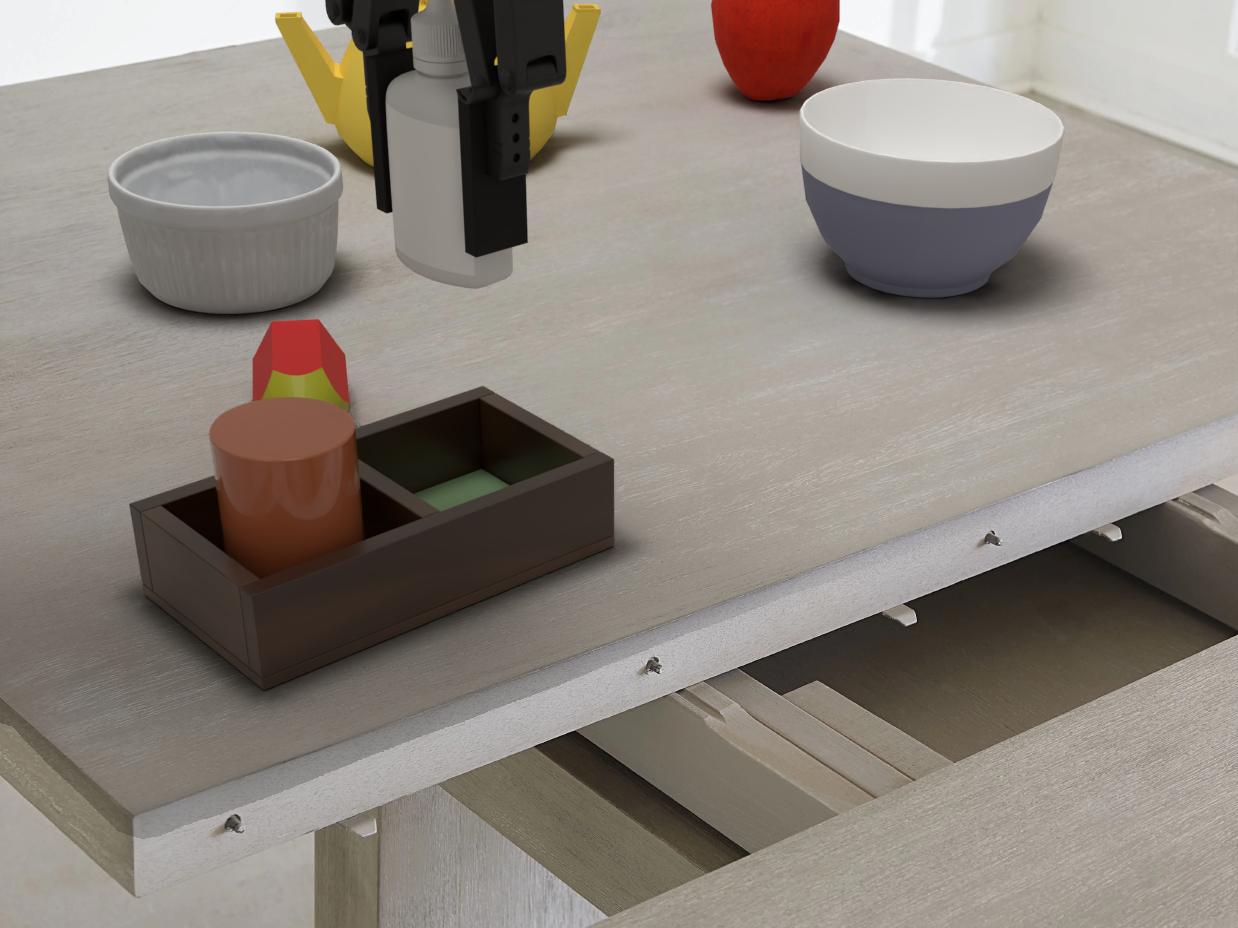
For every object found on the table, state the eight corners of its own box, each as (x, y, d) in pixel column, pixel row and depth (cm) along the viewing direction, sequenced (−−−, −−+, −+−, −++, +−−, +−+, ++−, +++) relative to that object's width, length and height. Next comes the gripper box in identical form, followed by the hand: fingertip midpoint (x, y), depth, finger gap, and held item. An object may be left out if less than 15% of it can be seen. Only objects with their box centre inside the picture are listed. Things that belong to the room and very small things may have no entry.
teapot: (432, 96, 145) (422, -71, 138) (613, 141, 138) (613, -32, 131) (278, 155, 133) (260, -25, 126) (469, 207, 126) (460, 21, 119)
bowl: (872, 337, 111) (885, 176, 106) (746, 243, 123) (752, 93, 117) (1095, 297, 118) (1118, 142, 112) (955, 211, 129) (971, 67, 123)
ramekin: (388, 259, 118) (381, 147, 114) (283, 340, 108) (270, 220, 104) (198, 227, 121) (184, 118, 117) (78, 303, 111) (58, 186, 107)
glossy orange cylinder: (204, 585, 85) (181, 422, 80) (320, 543, 88) (304, 383, 84) (278, 642, 81) (258, 474, 77) (395, 595, 85) (383, 432, 80)
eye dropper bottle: (419, 299, 80) (400, 3, 73) (390, 250, 84) (369, -34, 77) (520, 287, 82) (511, -4, 75) (486, 240, 86) (474, -39, 79)
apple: (802, 125, 143) (812, -46, 136) (684, 103, 146) (688, -66, 139) (854, 90, 150) (866, -73, 143) (741, 70, 153) (747, -91, 146)
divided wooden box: (143, 594, 85) (128, 503, 82) (486, 468, 96) (483, 384, 93) (264, 690, 79) (252, 596, 77) (614, 545, 90) (614, 458, 88)
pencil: (257, 502, 92) (248, 425, 90) (256, 395, 102) (248, 322, 99) (358, 496, 93) (351, 419, 91) (348, 390, 103) (341, 317, 100)
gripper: (669, -377, 65) (661, 270, 79) (358, -427, 76) (397, 150, 89) (492, -368, 61) (516, 316, 74) (189, -422, 72) (257, 183, 85)
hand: (451, 224), depth 82 cm, fingers closed on eye dropper bottle, 6 cm apart
